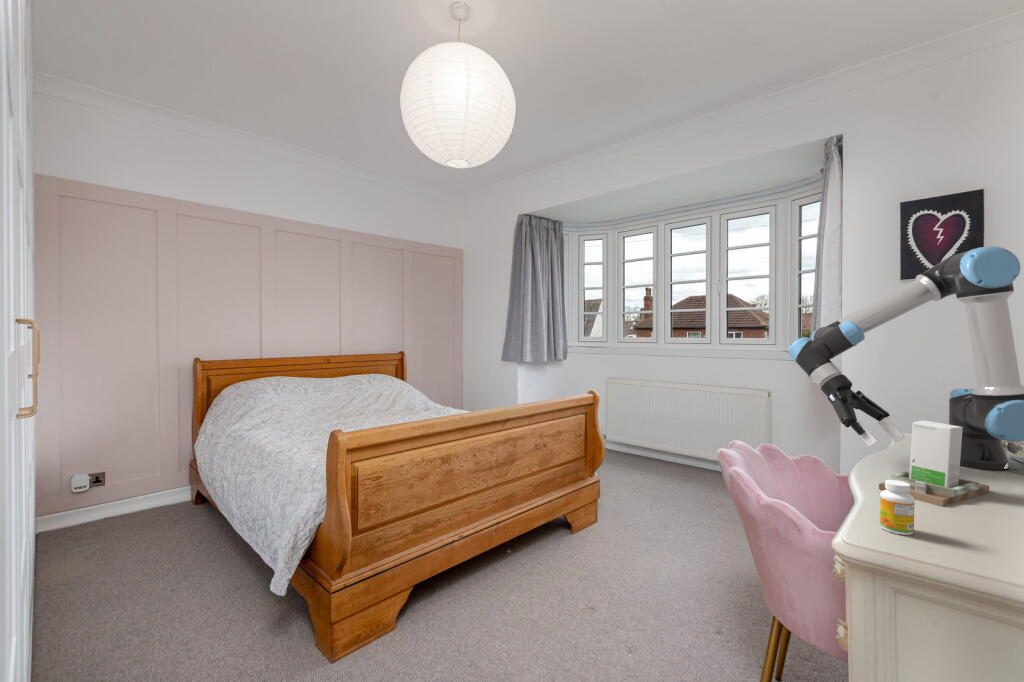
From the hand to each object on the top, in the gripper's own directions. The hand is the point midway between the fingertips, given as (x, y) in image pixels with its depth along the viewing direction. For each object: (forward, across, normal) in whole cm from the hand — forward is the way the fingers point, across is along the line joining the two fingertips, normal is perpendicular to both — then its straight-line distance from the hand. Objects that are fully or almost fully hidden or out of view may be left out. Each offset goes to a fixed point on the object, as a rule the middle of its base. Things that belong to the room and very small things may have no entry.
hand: (887, 441), depth 130 cm
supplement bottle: (+21, +38, +6) cm, 43 cm away
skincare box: (+14, 0, +1) cm, 14 cm away
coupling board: (+15, 0, 0) cm, 15 cm away
